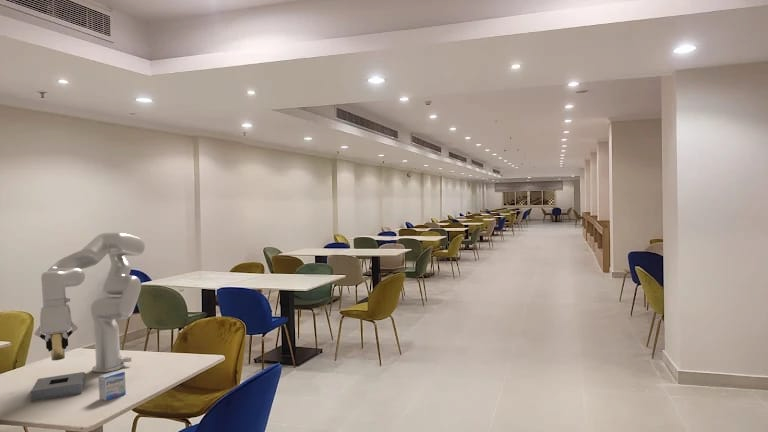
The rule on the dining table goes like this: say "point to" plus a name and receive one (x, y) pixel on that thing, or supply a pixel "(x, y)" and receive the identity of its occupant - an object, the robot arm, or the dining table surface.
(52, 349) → the brass peg
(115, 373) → the medicine box
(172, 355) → the dining table surface
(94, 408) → the dining table surface
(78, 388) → the socket block
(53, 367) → the dining table surface
